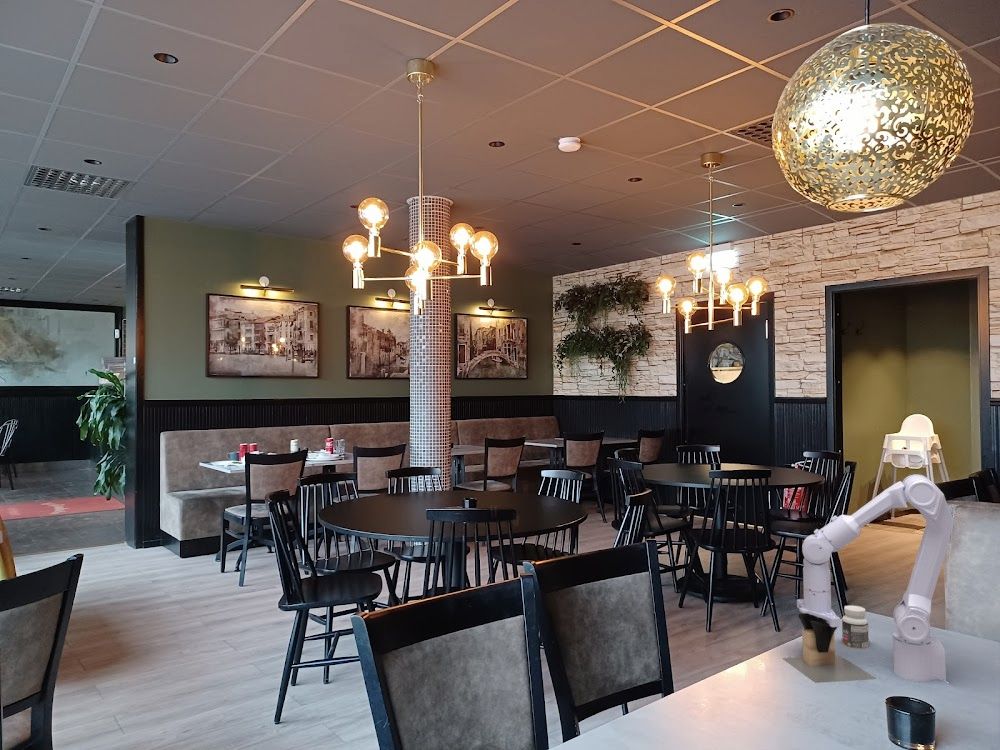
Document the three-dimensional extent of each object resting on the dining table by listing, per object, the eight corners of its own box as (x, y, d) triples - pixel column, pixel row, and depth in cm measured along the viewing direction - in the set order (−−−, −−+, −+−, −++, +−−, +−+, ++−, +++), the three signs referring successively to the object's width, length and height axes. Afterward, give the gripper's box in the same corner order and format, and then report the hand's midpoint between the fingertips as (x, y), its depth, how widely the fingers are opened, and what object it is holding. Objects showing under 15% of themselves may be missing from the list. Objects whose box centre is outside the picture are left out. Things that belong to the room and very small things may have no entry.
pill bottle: (839, 644, 177) (838, 604, 177) (863, 645, 176) (862, 605, 176) (847, 653, 171) (846, 611, 171) (872, 653, 170) (871, 612, 171)
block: (827, 659, 164) (826, 628, 164) (835, 663, 161) (834, 632, 161) (803, 660, 164) (802, 629, 164) (810, 665, 161) (809, 634, 161)
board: (839, 660, 167) (838, 654, 167) (877, 684, 153) (877, 678, 153) (782, 663, 165) (782, 658, 165) (815, 688, 151) (815, 682, 151)
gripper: (784, 581, 170) (785, 639, 169) (818, 598, 155) (819, 661, 155) (812, 580, 170) (813, 637, 170) (848, 597, 156) (850, 660, 156)
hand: (818, 649), depth 162 cm, fingers closed on block, 3 cm apart
